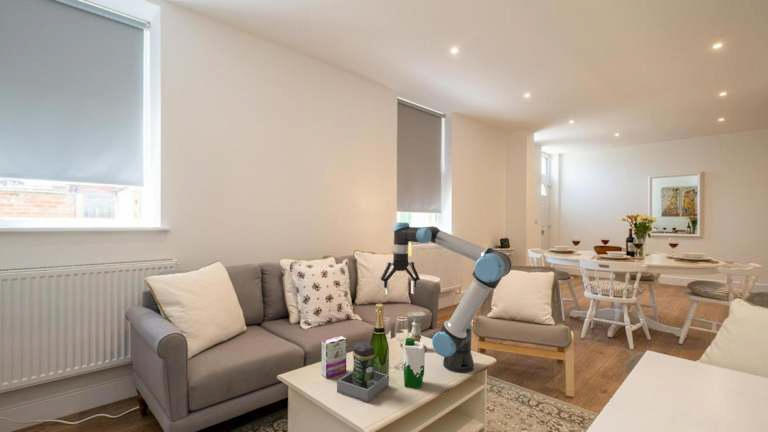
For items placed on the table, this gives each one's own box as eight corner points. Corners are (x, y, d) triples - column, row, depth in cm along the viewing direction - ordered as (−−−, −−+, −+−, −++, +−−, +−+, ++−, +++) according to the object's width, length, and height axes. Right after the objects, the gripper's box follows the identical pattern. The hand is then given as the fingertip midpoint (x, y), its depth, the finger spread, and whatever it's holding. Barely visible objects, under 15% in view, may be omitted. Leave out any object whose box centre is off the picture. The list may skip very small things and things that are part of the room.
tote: (388, 386, 163) (388, 375, 163) (367, 402, 148) (367, 390, 148) (359, 377, 171) (359, 366, 171) (336, 392, 157) (337, 380, 156)
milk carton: (405, 378, 171) (406, 335, 170) (424, 381, 169) (425, 337, 168) (402, 387, 162) (403, 342, 162) (422, 390, 160) (424, 344, 160)
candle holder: (431, 351, 205) (432, 314, 205) (413, 355, 199) (414, 317, 198) (417, 343, 216) (418, 309, 215) (400, 347, 209) (401, 312, 209)
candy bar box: (340, 368, 179) (341, 335, 179) (346, 372, 175) (347, 338, 175) (320, 375, 172) (321, 340, 172) (326, 379, 168) (326, 343, 168)
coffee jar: (349, 385, 161) (350, 342, 161) (364, 380, 166) (365, 339, 166) (361, 394, 153) (362, 349, 153) (377, 388, 158) (378, 345, 158)
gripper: (421, 251, 196) (420, 291, 196) (375, 251, 190) (374, 293, 190) (426, 253, 188) (425, 294, 189) (378, 253, 183) (377, 296, 183)
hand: (399, 294), depth 189 cm, fingers open, 13 cm apart
